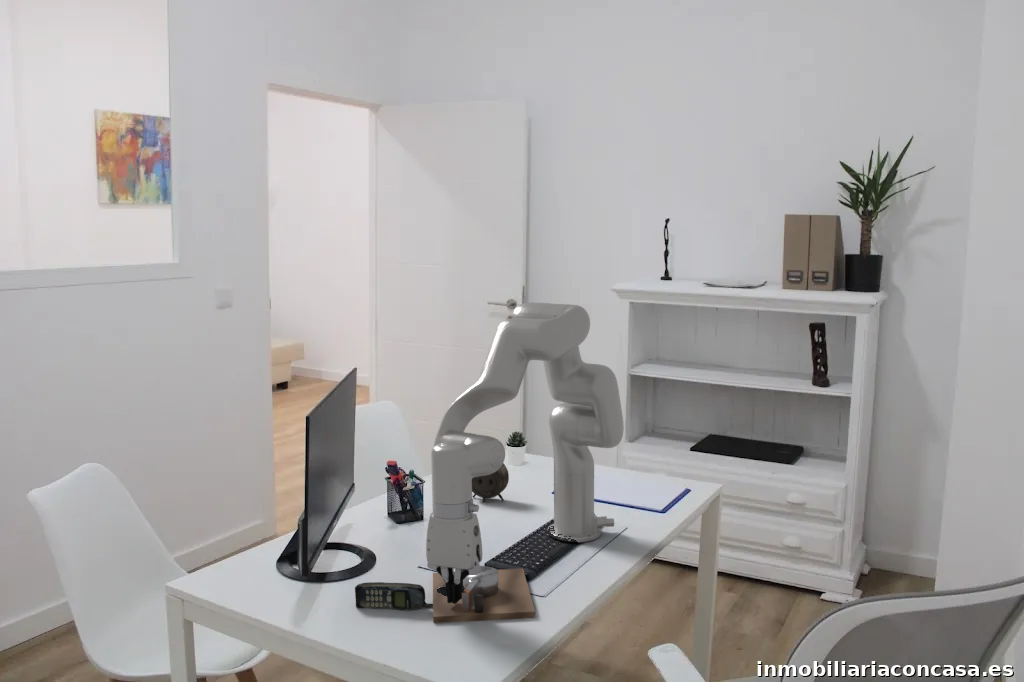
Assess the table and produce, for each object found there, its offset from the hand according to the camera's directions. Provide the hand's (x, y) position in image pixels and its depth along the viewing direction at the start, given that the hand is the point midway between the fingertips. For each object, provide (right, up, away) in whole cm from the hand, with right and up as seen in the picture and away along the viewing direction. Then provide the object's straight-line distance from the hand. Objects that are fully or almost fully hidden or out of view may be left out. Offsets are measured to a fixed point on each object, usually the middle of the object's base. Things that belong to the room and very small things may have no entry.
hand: (454, 600), depth 170 cm
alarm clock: (+4, +7, +67) cm, 68 cm away
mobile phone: (-12, -2, +2) cm, 12 cm away
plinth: (+5, -1, +6) cm, 8 cm away
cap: (+4, 0, +3) cm, 5 cm away
